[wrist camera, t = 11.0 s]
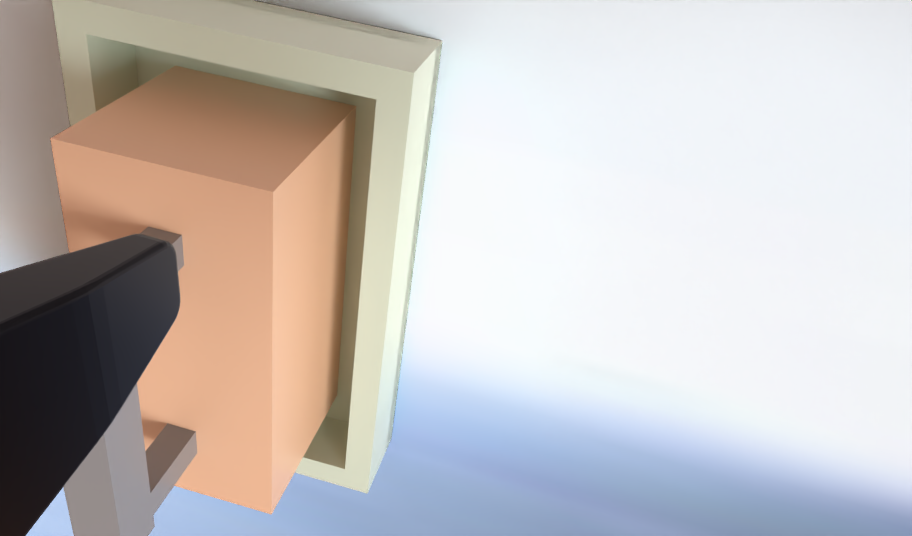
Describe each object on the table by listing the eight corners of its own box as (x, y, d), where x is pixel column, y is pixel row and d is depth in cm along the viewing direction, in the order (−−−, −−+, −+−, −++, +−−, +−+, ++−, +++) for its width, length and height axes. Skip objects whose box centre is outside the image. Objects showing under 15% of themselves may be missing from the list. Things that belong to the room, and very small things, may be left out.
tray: (442, 41, 19) (413, 73, 17) (391, 438, 27) (367, 493, 25) (114, -30, 20) (50, -8, 18) (154, 371, 28) (112, 419, 26)
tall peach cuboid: (356, 106, 20) (180, 287, 13) (337, 394, 26) (206, 633, 19) (175, 65, 21) (-87, 218, 14) (194, 356, 26) (15, 572, 19)
